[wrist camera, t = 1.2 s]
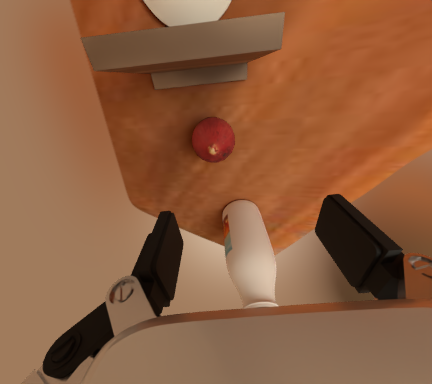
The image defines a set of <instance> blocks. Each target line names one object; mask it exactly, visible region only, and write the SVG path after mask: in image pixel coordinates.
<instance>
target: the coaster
mask: <svg viewBox="0 0 432 384" xmlns="http://www.w3.org/2000/svg"><path fill="white" fill-rule="evenodd" d="M143 1H144V2H145V3H146V5H147V6H148V8H149V9H150V10H151V11H152V12H153V13H154V15H155V16H156V17H157V18H158V19H159V20H160V21H162V22H163V23H164V24H165V25H167V26H168V27H171V26H179V25H186V24H194V23H202V22H210V21H218V20H220V18H221V17H222V16H223V15H224V13H225V12H226V10H227V9H228V7H229V5H230V3H231V1H232V0H143Z"/></svg>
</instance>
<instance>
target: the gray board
mask: <svg viewBox="0 0 432 384" xmlns="http://www.w3.org/2000/svg"><path fill="white" fill-rule="evenodd" d="M284 16H285V12H281V13H273V14H266V15H258V16H250V17H242V18H234V19H226V20H218V21H210V22H202V23H194V24H186V25H179V26H171V27H163V28H155V29H147V30H139V31H131V32H123V33H115V34H107V35H100V36H92V37H84V38H81V40H82V43H83V45H84V48H85V50H86V52H87V55H88V57H89V60H90V62H91V65H92V67H93V69H94V71H104V72H124V73H145V74H151V76H152V80H153V84H154V88H155V90H157V89H165V88H174V87H183V86H192V85H201V84H210V83H219V82H228V81H236V80H245V79H247V63H248V62H250V61H252V60H255V59H257V58H260V57H262V56H265V55H267V54H270V53H272V52H275V51H277V50H280V49H281V46H282V36H283V26H284Z"/></svg>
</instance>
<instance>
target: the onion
mask: <svg viewBox="0 0 432 384" xmlns="http://www.w3.org/2000/svg"><path fill="white" fill-rule="evenodd" d="M192 144H193V148H194V150H195V152H196V153H197V155H198V156H199V157H200V158H202V159H203V160H205V161H208V162H220V161H222V160H225V159H226V158H227V157H228V156H229V155H230V154H231V153H232V150H233V148H234V145H235V137H234V133H233V130H232V128H231V126H230V125H229V124H228V123H227V122H226V121H224V120H222V119H220V118H217V117H208V118H206V119H204V120H202V121H201V122H200V123H199V124H198V125H197V126H196V128H195V129H194V132H193V135H192Z"/></svg>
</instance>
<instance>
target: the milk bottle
mask: <svg viewBox="0 0 432 384" xmlns="http://www.w3.org/2000/svg"><path fill="white" fill-rule="evenodd" d="M222 216H223V232H224V244H225V255H226V263H227V268H228V272H229V275H230V277H231V279H232V281H233V283H234V285H235V287H236V288H237V290H238V292H239V294H240V297H241V300H242V302H243V309H246V308H260V307H274V306H278V305H277V304H276V301H275V292H274V291H275V279H276V261H275V256H274V253H273V249H272V246H271V243H270V240H269V237H268V234H267V231H266V228H265V226H264V223H263V220H262V217H261V214H260V212H259V209H258V207H257V206H256V205H255V204H254V203H253V202H251V201H248V200H237V201H234V202H231V203H230V204H228V205H227V206H226V208H225V209H224V211H223V215H222Z"/></svg>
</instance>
